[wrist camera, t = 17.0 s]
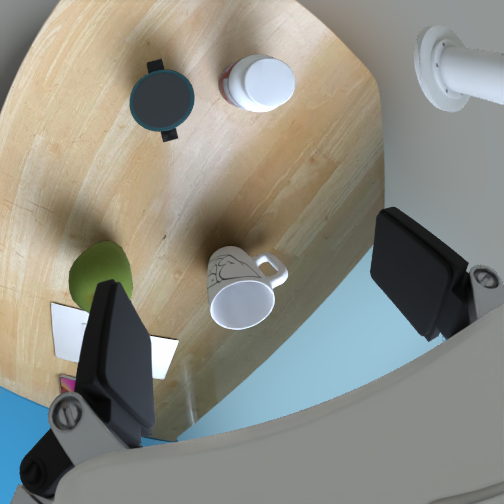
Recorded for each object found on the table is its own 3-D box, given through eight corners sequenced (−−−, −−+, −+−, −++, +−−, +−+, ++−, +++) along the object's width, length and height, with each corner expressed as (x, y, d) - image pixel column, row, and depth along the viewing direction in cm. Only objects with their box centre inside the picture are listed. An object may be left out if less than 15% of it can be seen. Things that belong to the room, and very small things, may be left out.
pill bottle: (260, 56, 29) (294, 44, 20) (272, 100, 32) (310, 106, 23) (211, 69, 28) (227, 58, 19) (225, 113, 32) (247, 122, 23)
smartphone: (88, 383, 50) (89, 411, 56) (89, 380, 51) (89, 408, 57) (58, 375, 47) (63, 405, 53) (59, 372, 48) (63, 402, 53)
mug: (264, 222, 41) (288, 259, 33) (278, 265, 46) (301, 305, 38) (191, 252, 41) (198, 296, 33) (213, 292, 46) (224, 337, 38)
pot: (185, 59, 27) (186, 52, 22) (197, 127, 32) (201, 133, 27) (130, 73, 26) (121, 69, 21) (145, 140, 31) (139, 150, 26)
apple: (141, 273, 41) (137, 328, 31) (91, 277, 39) (76, 332, 29) (132, 220, 36) (120, 269, 27) (77, 227, 34) (51, 276, 25)
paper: (56, 359, 45) (55, 363, 45) (47, 300, 38) (45, 304, 37) (167, 378, 55) (167, 382, 54) (182, 325, 48) (183, 330, 47)
